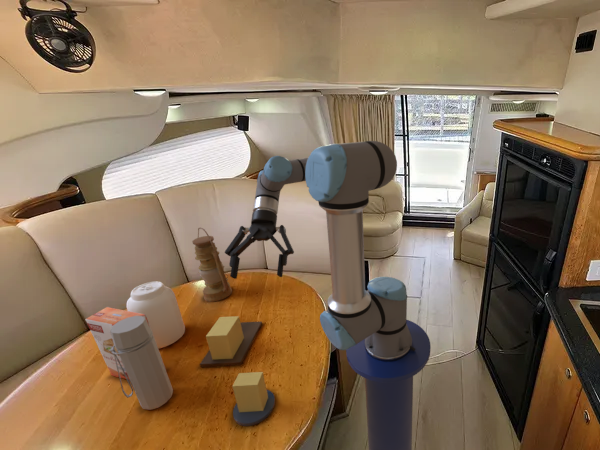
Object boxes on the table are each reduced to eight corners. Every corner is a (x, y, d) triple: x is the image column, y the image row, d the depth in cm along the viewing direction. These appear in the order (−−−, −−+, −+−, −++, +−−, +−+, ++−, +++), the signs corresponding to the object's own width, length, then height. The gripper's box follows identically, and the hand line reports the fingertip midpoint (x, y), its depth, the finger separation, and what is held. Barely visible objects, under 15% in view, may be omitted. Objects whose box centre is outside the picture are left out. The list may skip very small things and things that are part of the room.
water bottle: (172, 382, 89) (146, 310, 80) (176, 401, 83) (148, 326, 74) (131, 401, 84) (98, 325, 74) (132, 422, 78) (96, 343, 69)
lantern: (242, 290, 133) (228, 224, 122) (224, 304, 124) (207, 234, 113) (213, 285, 137) (196, 221, 126) (193, 299, 127) (173, 231, 116)
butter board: (262, 324, 113) (261, 321, 112) (241, 364, 95) (240, 361, 95) (228, 325, 112) (227, 322, 112) (200, 367, 94) (199, 364, 94)
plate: (281, 393, 86) (281, 390, 86) (263, 428, 77) (262, 425, 76) (247, 390, 87) (246, 387, 86) (225, 424, 78) (224, 421, 77)
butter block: (244, 338, 104) (239, 316, 101) (232, 358, 96) (226, 335, 93) (225, 339, 104) (219, 316, 101) (212, 359, 96) (205, 336, 92)
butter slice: (268, 397, 84) (262, 371, 80) (263, 410, 80) (257, 384, 77) (245, 398, 83) (238, 373, 80) (239, 412, 79) (232, 386, 76)
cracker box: (109, 377, 91) (83, 318, 83) (131, 361, 96) (107, 305, 89) (147, 387, 88) (123, 327, 80) (167, 370, 93) (146, 312, 86)
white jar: (131, 346, 103) (111, 294, 95) (168, 322, 114) (152, 274, 106) (159, 354, 99) (140, 301, 92) (194, 329, 110) (179, 280, 103)
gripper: (306, 217, 107) (301, 278, 98) (231, 219, 105) (219, 281, 97) (300, 207, 100) (295, 271, 92) (220, 209, 98) (207, 275, 90)
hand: (256, 276), depth 94 cm, fingers open, 13 cm apart
